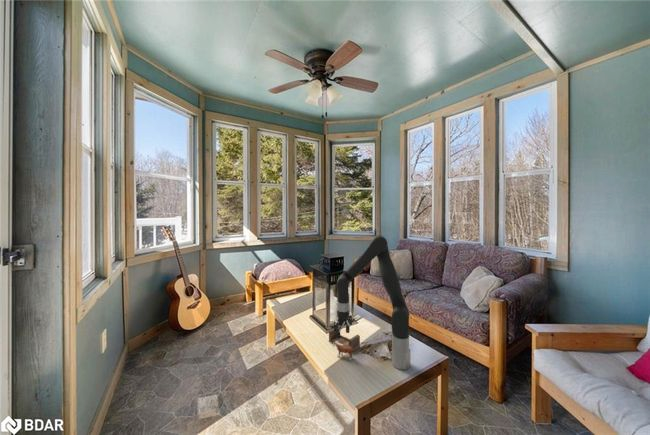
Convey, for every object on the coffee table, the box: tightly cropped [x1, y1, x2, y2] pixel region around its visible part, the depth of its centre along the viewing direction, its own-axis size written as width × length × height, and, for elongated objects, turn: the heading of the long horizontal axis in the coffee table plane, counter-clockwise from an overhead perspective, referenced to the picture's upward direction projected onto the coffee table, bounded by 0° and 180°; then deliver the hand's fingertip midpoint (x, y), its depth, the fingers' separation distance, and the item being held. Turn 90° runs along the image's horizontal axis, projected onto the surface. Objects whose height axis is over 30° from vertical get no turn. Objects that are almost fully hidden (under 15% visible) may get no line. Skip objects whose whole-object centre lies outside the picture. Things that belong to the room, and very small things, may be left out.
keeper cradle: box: [328, 327, 361, 351], centre depth 165 cm, size 19×9×7 cm, turn 46°
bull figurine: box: [334, 341, 355, 361], centre depth 151 cm, size 4×13×8 cm, turn 59°
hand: (343, 335), depth 151 cm, fingers open, 8 cm apart
